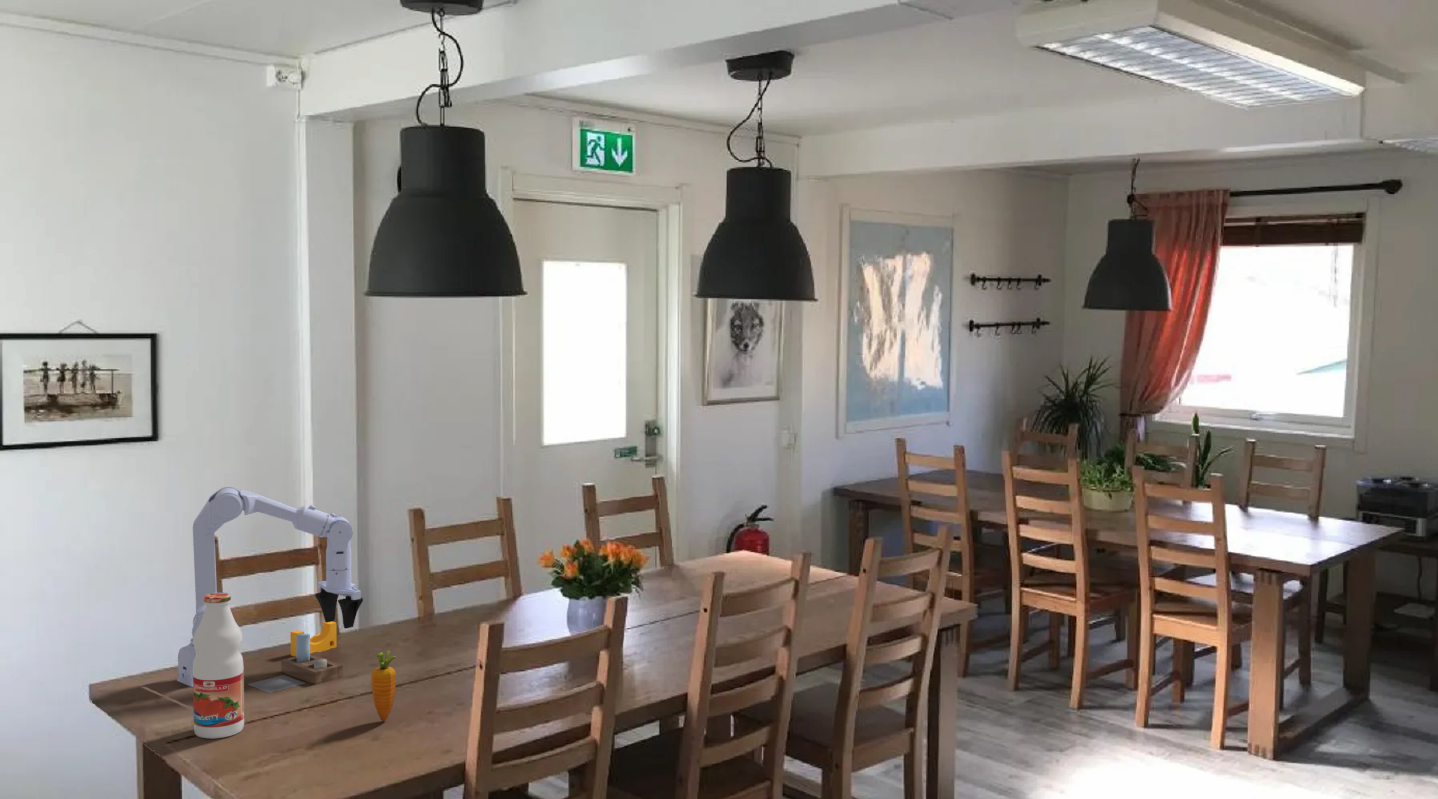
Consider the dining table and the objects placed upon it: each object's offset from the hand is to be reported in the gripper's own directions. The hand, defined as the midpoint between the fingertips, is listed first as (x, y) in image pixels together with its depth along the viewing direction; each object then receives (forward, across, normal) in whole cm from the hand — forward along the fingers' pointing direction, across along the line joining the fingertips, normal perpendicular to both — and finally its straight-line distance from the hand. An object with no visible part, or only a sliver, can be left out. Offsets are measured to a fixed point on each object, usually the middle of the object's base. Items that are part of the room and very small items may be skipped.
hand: (339, 624), depth 279 cm
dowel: (+10, +2, +8) cm, 13 cm away
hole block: (+10, -1, +8) cm, 13 cm away
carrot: (+11, -38, +15) cm, 42 cm away
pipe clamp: (+11, +16, -3) cm, 20 cm away
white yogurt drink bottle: (+11, -18, +40) cm, 45 cm away
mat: (+10, -1, +17) cm, 20 cm away
